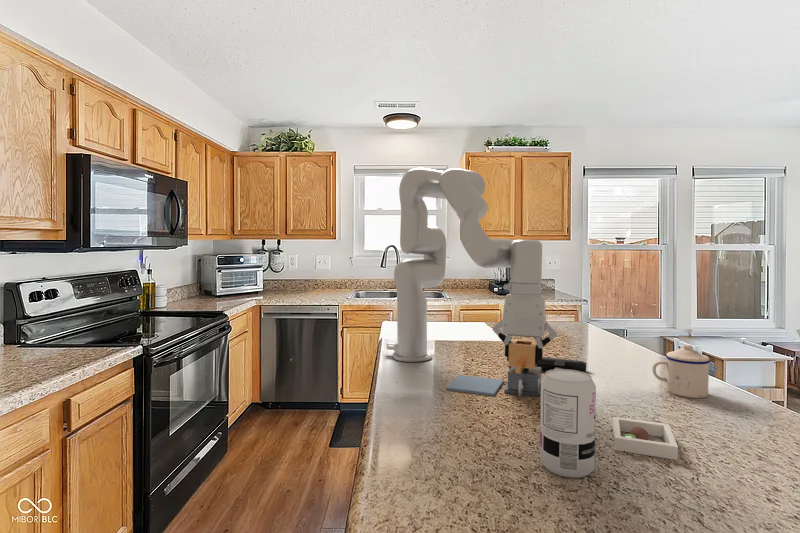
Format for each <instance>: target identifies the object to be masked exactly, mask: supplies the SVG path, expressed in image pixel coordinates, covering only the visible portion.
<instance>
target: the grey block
mask: <svg viewBox="0 0 800 533" xmlns="http://www.w3.org/2000/svg"><path fill="white" fill-rule="evenodd" d="M542 372H543V371H542V367H535V369H528V368H524V369H523V371H522V372H521V374H519V373H515V367H511V369H509V370H508V371H507V385H506V386H505V388H504V391H503V392H504V394H512V395H517V396H518V398H523V396H527V397H533V398H541V382H542Z"/></svg>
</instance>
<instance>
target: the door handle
mask: <svg viewBox="0 0 800 533" xmlns="http://www.w3.org/2000/svg"><path fill="white" fill-rule="evenodd" d="M536 367H542V372H545V373H546V371H549V370H554V369H568V370H576V371H582V372H586V371H587V362H586V361H582V360H575V359H567V358H555V357H548V356H547V357H546V356H542V361H540V362H539V364H537V365H536ZM508 369H509V370H510V369H511V366H508Z"/></svg>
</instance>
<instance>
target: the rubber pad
mask: <svg viewBox="0 0 800 533" xmlns="http://www.w3.org/2000/svg"><path fill="white" fill-rule="evenodd" d="M504 382H505V381H504V379H500V378H489V377H481V376H471V375H463V374H459V375H457V377H455V378H454V379H453V380H452V381H450V383H449V384H448V385H447V386H446V387H445V390H446V391H453V392H460V393H469V394H474V395H475V394H476V395H482V396H484V395H485V396H491V397H495V396H496V394H497V393H498V391H499V390H500V388H501V387H502V385H503V384H504Z"/></svg>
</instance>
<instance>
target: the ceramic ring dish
mask: <svg viewBox="0 0 800 533" xmlns="http://www.w3.org/2000/svg"><path fill="white" fill-rule="evenodd" d="M633 427H642V428H644V429H645V430H646V431H647V432H648V434H649V436H653V437H659V438H660V437H661V438H662V439H663V441H664V442H661V441H654V440H649V439H648V440H642V439H635V438H629V437H622V436H621V435H622V434H621V432H625V433H627V432H628V433H630V430H631V429H632V428H633ZM612 436H613V446H614V447H613V448H614V451H619V452H624V451H625V453H631V454H638V455H644V456H650V457H656V458H664V459H669V460H675V461H678V460H679V447H678V444H677V441H676V438H675V436H674V434H673V431H672V428H671V427H670V423H668V424H667V423H663V422H655V421H646V420H639V419H638V420H637V419H632V418H626V417H625V418H623V417H618V416H617V417H616V416H612Z"/></svg>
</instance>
